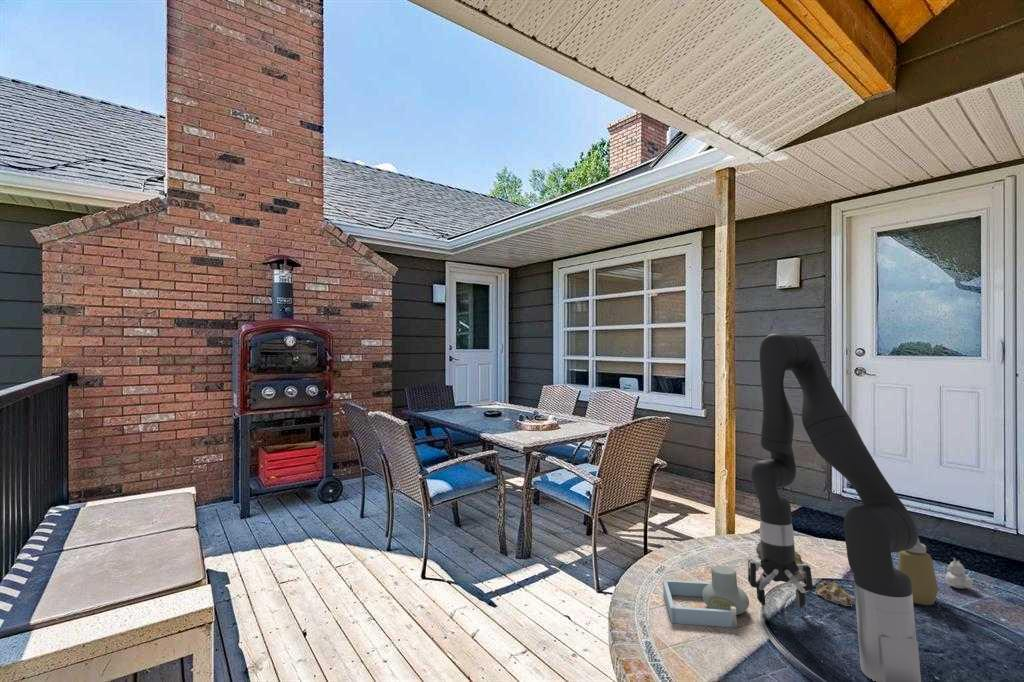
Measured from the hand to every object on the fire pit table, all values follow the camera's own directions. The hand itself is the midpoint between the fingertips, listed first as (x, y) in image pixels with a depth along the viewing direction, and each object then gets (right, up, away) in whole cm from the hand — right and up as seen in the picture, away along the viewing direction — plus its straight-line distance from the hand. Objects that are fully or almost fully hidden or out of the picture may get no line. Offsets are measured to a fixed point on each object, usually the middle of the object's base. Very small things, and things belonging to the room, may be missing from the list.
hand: (781, 605), depth 118 cm
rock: (+16, -4, +29) cm, 33 cm away
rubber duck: (+55, -1, +10) cm, 56 cm away
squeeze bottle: (+38, -1, +4) cm, 39 cm away
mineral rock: (+18, -3, +7) cm, 20 cm away
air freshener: (-13, -3, +2) cm, 13 cm away
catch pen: (-20, -3, +3) cm, 21 cm away
